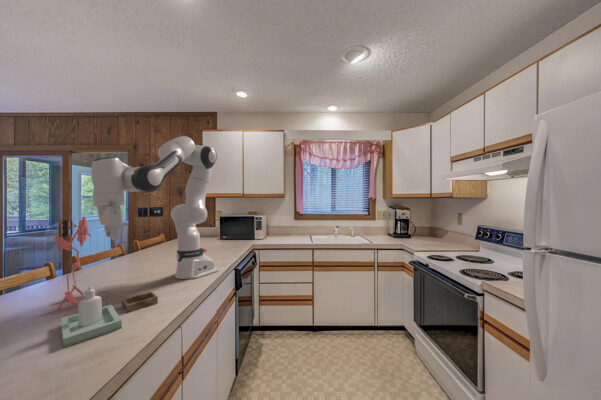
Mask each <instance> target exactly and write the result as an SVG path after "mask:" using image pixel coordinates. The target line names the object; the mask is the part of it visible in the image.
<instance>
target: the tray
mask: <svg viewBox="0 0 601 400" xmlns="http://www.w3.org/2000/svg"><path fill="white" fill-rule="evenodd" d="M122 327H123V326H122V318H121V317H120V315H119V314H118V312H117V311H116V309H115V308H114V307H113V305H112V304H109V305H105V306H102V319H101V320H99V321H98V322H96V323H93V324H91V325H88V326H84V327H81V326H79V325H78V313H76V314H72V315H69V316H65V317H61V318H60V329H61V337H62V347H63V349H64V348H67V347H70V346H73V345H75V344H78V343H81V342H85V341H87V340H91V339H94V338H96V337H99V336H103V335H105V334H108V333H111V332H114V331H116V330H120V329H122Z"/></svg>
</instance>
